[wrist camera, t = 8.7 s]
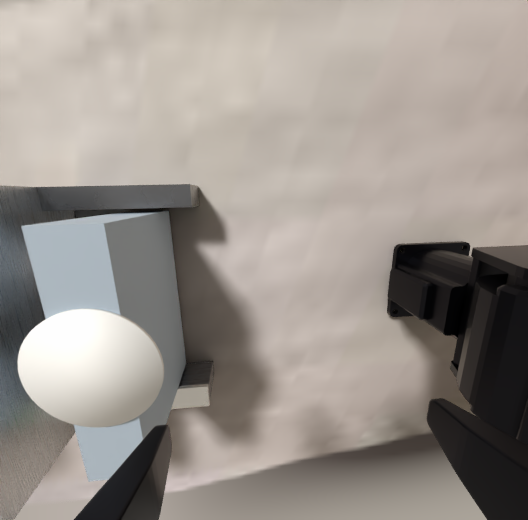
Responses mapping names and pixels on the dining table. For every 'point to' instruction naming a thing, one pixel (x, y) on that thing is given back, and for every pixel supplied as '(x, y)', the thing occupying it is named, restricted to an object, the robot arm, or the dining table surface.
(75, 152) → the dining table surface
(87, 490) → the dining table surface
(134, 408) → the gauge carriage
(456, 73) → the dining table surface
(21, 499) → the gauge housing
